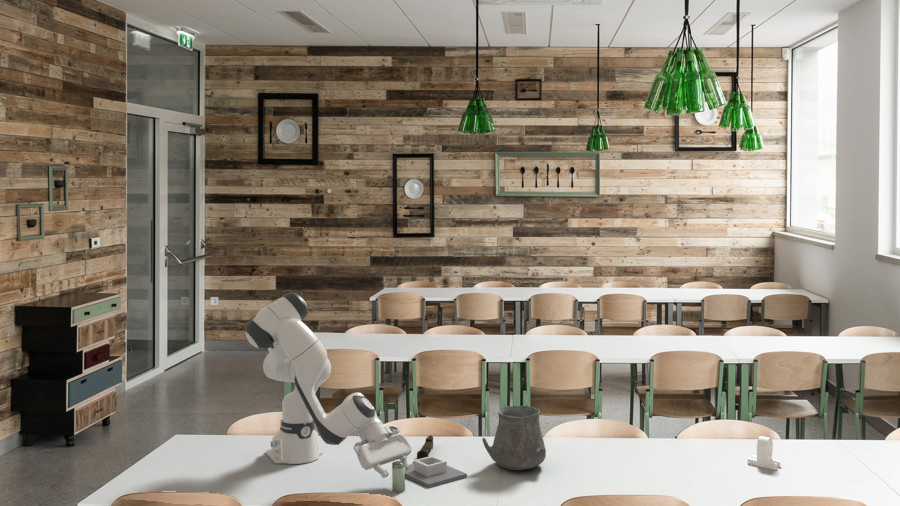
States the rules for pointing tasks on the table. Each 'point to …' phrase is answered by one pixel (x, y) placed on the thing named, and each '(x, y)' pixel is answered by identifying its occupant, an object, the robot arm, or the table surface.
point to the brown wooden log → (426, 448)
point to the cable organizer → (764, 454)
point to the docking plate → (432, 472)
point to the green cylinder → (398, 476)
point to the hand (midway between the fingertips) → (396, 472)
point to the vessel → (517, 439)
